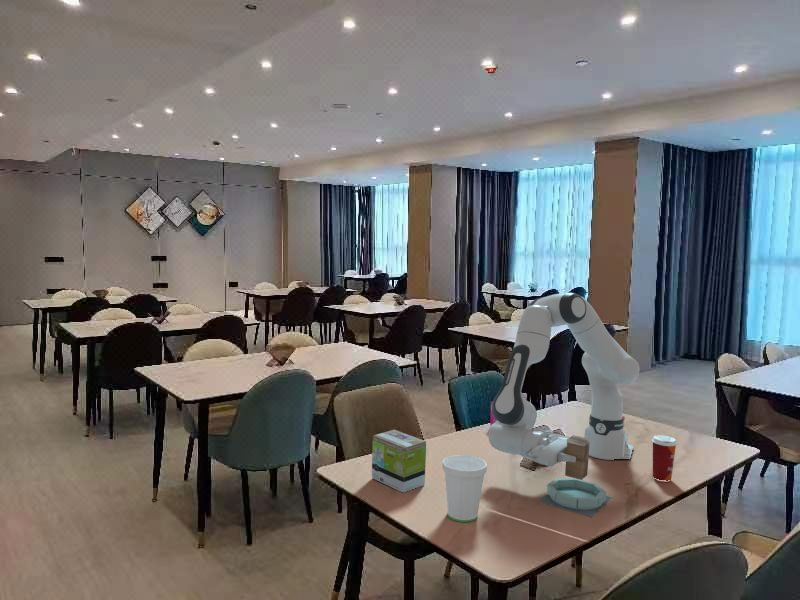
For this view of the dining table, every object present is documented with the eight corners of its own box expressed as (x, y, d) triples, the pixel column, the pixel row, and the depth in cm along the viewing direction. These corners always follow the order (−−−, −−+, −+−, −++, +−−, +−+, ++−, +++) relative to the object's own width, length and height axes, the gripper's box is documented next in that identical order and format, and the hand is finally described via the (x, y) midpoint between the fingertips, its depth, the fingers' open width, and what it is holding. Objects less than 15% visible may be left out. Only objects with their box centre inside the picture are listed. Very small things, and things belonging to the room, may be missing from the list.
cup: (493, 515, 167) (495, 462, 166) (467, 530, 158) (470, 474, 157) (457, 502, 176) (459, 451, 174) (431, 515, 166) (433, 462, 165)
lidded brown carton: (571, 470, 182) (573, 435, 181) (587, 475, 179) (590, 438, 178) (564, 475, 178) (566, 439, 177) (581, 480, 175) (584, 443, 174)
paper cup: (677, 484, 194) (680, 443, 192) (651, 482, 195) (654, 440, 194) (671, 476, 201) (674, 435, 200) (647, 473, 203) (649, 433, 202)
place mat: (561, 484, 191) (561, 483, 191) (611, 498, 182) (612, 497, 181) (538, 502, 177) (538, 501, 177) (591, 518, 167) (591, 517, 167)
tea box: (370, 479, 191) (371, 434, 190) (392, 471, 198) (394, 428, 197) (403, 494, 180) (404, 446, 179) (425, 485, 187) (427, 439, 186)
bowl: (560, 484, 190) (561, 474, 190) (610, 498, 181) (611, 487, 180) (540, 500, 177) (540, 489, 177) (592, 516, 168) (593, 504, 168)
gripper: (523, 444, 177) (567, 455, 169) (550, 429, 193) (592, 438, 185) (521, 464, 178) (566, 476, 169) (549, 448, 194) (591, 458, 186)
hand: (580, 456), depth 177 cm, fingers closed on lidded brown carton, 5 cm apart
